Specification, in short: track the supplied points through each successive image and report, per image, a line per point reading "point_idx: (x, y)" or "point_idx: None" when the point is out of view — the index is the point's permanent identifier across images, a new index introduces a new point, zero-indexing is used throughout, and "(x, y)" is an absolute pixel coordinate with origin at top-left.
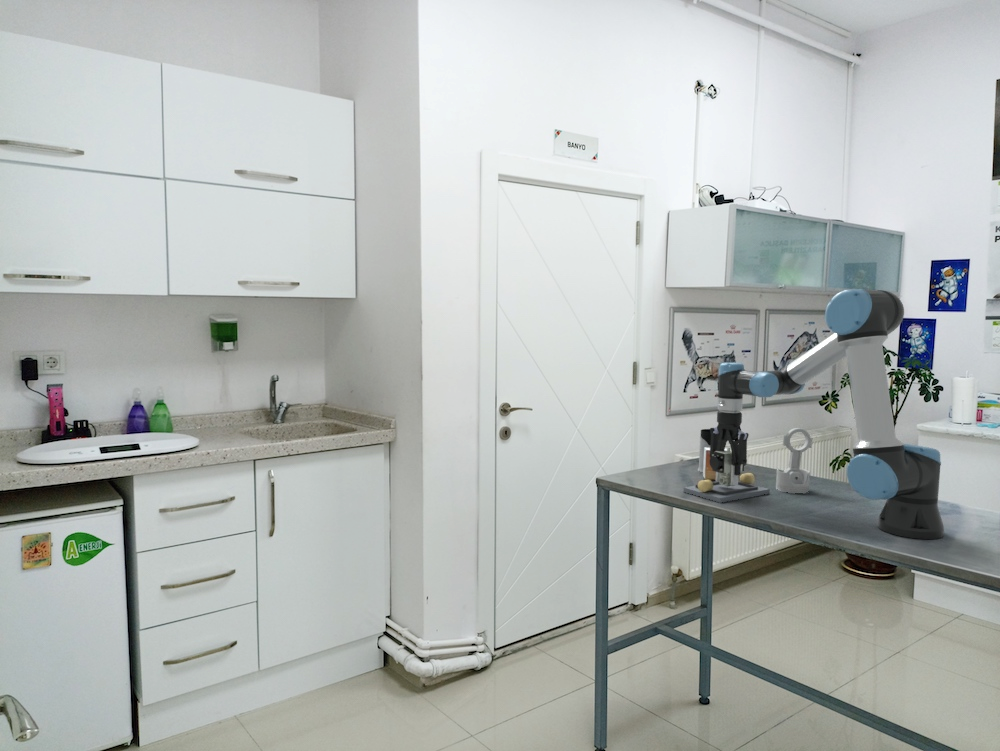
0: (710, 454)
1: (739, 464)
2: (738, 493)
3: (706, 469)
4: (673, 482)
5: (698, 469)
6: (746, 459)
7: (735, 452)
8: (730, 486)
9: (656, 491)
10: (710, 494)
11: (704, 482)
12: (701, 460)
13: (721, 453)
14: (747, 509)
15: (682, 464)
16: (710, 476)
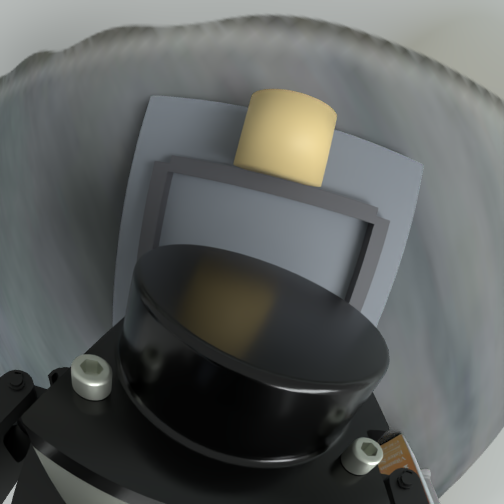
0: (416, 490)
1: (45, 390)
2: (131, 268)
3: (408, 461)
4: (488, 309)
5: (429, 473)
6: (13, 433)
7: (23, 492)
8: None
9: (474, 106)
10: (228, 117)
11: (273, 90)
12: (430, 493)
13: (86, 472)
14: (55, 121)
15: (462, 469)
16: (386, 451)
